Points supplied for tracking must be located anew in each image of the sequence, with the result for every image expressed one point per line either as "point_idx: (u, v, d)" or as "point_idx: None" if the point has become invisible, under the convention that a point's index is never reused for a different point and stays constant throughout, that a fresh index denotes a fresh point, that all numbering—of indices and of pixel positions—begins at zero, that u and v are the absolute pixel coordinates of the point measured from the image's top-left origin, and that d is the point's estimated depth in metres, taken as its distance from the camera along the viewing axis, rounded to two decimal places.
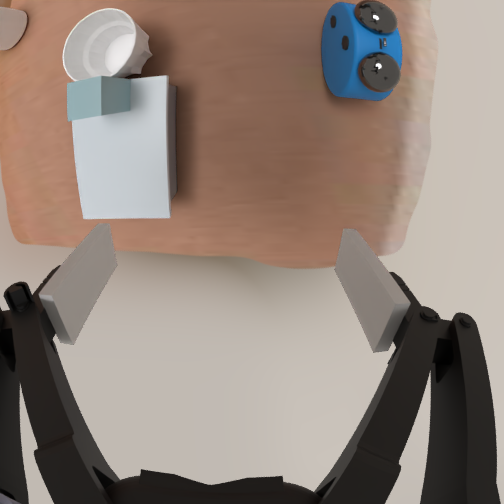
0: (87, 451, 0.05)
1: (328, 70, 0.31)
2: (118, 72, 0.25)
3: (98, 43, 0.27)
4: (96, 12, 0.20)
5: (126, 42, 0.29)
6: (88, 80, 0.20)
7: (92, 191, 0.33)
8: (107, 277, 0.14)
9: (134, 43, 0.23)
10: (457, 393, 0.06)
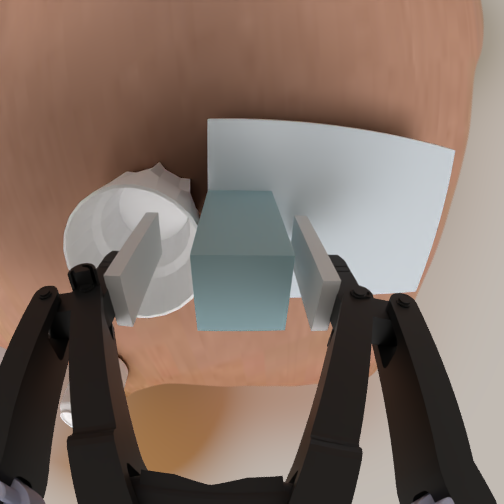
0: (125, 447, 0.05)
1: None
2: (190, 212, 0.17)
3: None
4: (71, 267, 0.17)
5: (133, 207, 0.25)
6: (198, 285, 0.11)
7: (387, 272, 0.22)
8: (156, 263, 0.16)
9: (133, 185, 0.15)
10: (408, 378, 0.07)
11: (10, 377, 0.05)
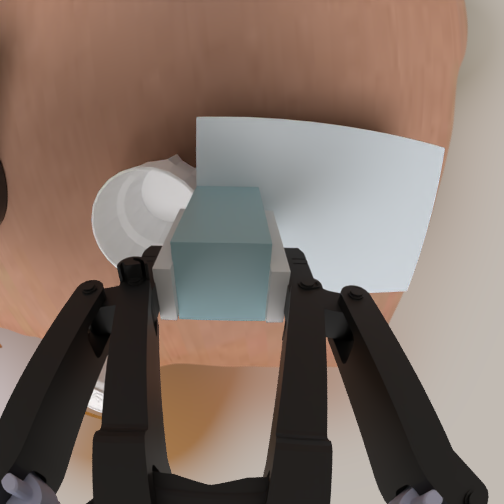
0: (153, 448, 0.05)
1: None
2: None
3: (149, 230, 0.28)
4: (96, 235, 0.22)
5: (154, 191, 0.29)
6: (178, 272, 0.12)
7: (377, 270, 0.22)
8: None
9: (151, 168, 0.19)
10: (370, 374, 0.08)
11: (41, 372, 0.06)
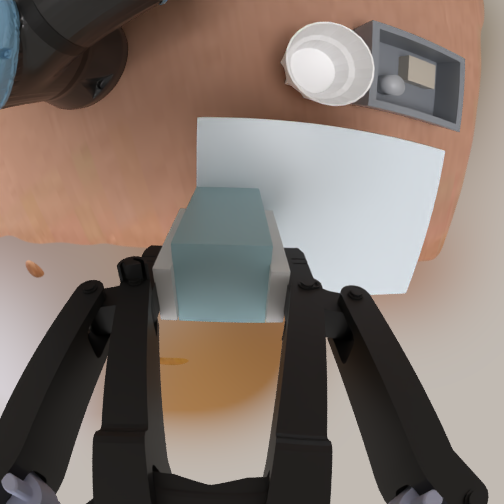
0: (153, 448, 0.05)
1: None
2: (365, 47, 0.24)
3: None
4: (287, 61, 0.25)
5: (297, 67, 0.32)
6: (178, 274, 0.12)
7: (376, 272, 0.22)
8: None
9: (340, 25, 0.22)
10: (370, 374, 0.08)
11: (41, 372, 0.06)
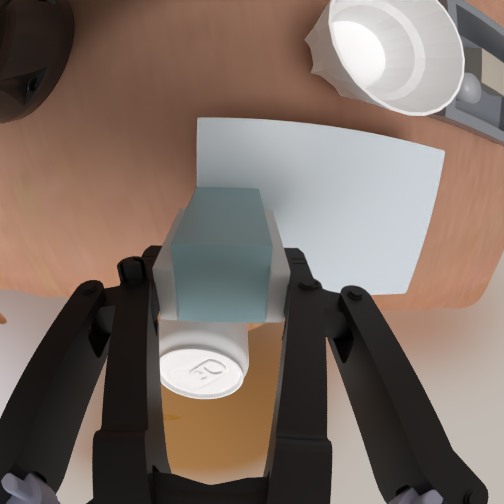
0: (153, 448, 0.05)
1: None
2: (449, 25, 0.11)
3: None
4: (331, 27, 0.11)
5: None
6: (178, 274, 0.12)
7: (376, 272, 0.22)
8: None
9: None
10: (370, 374, 0.08)
11: (41, 372, 0.06)
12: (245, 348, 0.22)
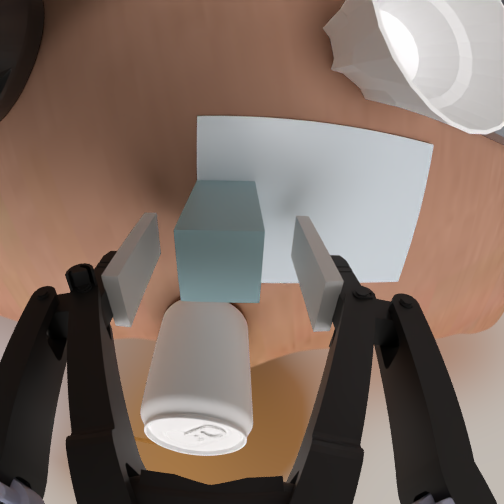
0: (123, 447, 0.05)
1: None
2: None
3: None
4: (374, 3, 0.07)
5: None
6: (180, 258, 0.13)
7: (368, 261, 0.23)
8: (154, 264, 0.16)
9: None
10: (410, 379, 0.07)
11: (9, 378, 0.05)
12: (249, 409, 0.17)
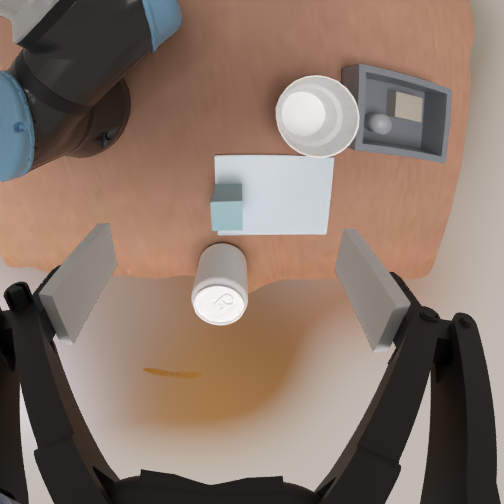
0: (87, 451, 0.05)
1: None
2: (351, 97, 0.29)
3: (293, 135, 0.36)
4: (277, 119, 0.30)
5: (290, 112, 0.38)
6: (212, 212, 0.36)
7: (304, 221, 0.46)
8: (107, 277, 0.14)
9: (326, 77, 0.27)
10: (457, 393, 0.06)
11: None
12: (245, 289, 0.40)
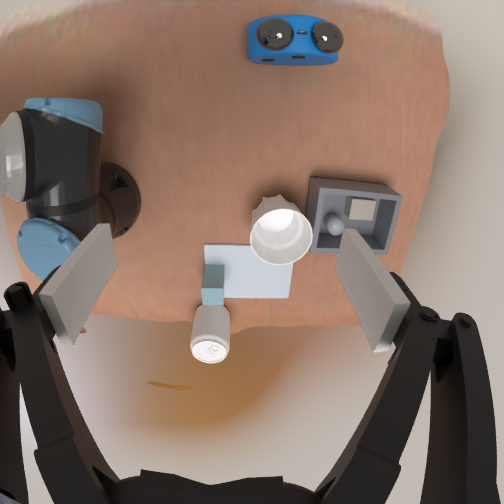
0: (87, 451, 0.05)
1: (307, 63, 0.37)
2: (308, 221, 0.45)
3: (265, 237, 0.52)
4: (251, 240, 0.46)
5: (264, 214, 0.54)
6: (202, 294, 0.52)
7: (271, 290, 0.62)
8: (107, 277, 0.14)
9: (289, 209, 0.43)
10: (457, 393, 0.06)
11: None
12: (227, 341, 0.56)
